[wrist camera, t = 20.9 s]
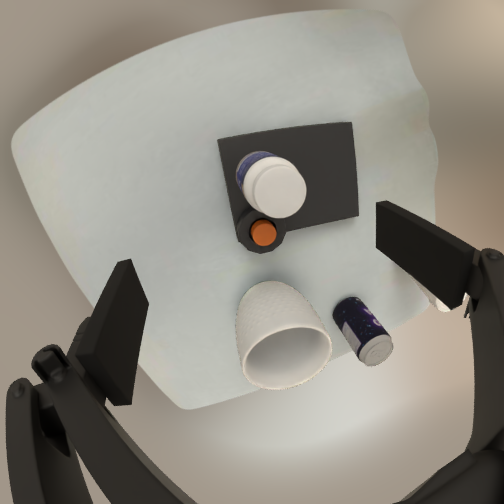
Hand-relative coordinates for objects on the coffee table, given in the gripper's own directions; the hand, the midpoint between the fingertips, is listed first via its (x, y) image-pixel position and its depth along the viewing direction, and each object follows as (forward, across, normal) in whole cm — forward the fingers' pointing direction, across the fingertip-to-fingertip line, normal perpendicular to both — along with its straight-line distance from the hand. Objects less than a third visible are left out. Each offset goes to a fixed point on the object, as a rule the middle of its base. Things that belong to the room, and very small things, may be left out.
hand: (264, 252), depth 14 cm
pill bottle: (+21, +4, 0) cm, 21 cm away
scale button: (+19, +3, -7) cm, 20 cm away
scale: (+22, +8, -2) cm, 24 cm away
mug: (+22, +2, -20) cm, 30 cm away
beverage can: (+22, +16, -25) cm, 37 cm away
